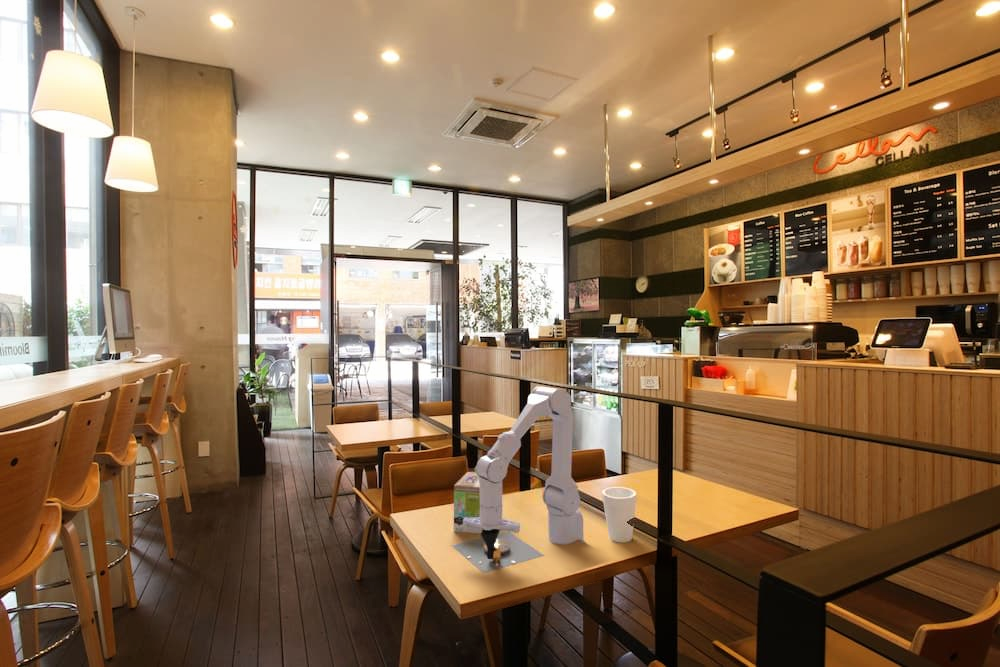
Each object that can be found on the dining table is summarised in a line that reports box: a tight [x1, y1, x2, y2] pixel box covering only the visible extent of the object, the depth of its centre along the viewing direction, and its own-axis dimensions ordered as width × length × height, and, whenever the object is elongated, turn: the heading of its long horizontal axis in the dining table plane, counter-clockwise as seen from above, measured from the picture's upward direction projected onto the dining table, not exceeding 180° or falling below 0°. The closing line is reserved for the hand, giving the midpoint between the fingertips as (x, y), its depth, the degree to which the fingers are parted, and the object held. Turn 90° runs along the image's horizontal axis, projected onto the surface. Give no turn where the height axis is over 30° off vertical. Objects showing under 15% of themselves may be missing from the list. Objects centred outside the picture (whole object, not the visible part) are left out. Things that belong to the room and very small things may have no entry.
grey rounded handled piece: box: [484, 538, 510, 563], centre depth 134 cm, size 12×7×3 cm, turn 179°
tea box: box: [453, 471, 482, 534], centre depth 156 cm, size 15×10×15 cm, turn 168°
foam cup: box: [601, 486, 637, 543], centre depth 146 cm, size 10×9×13 cm
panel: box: [451, 531, 545, 574], centre depth 137 cm, size 18×18×1 cm
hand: (491, 557), depth 130 cm, fingers closed, pressing on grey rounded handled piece
